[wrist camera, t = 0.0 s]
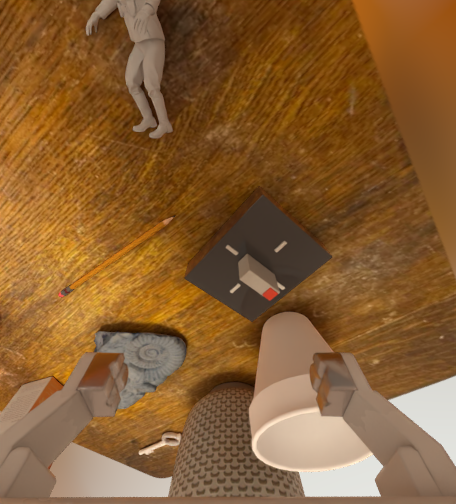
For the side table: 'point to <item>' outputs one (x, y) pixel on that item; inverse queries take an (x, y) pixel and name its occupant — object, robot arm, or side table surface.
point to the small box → (27, 401)
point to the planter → (226, 451)
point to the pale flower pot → (296, 403)
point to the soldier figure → (141, 57)
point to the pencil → (115, 256)
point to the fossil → (143, 360)
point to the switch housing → (256, 254)
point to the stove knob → (258, 277)
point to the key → (163, 442)
